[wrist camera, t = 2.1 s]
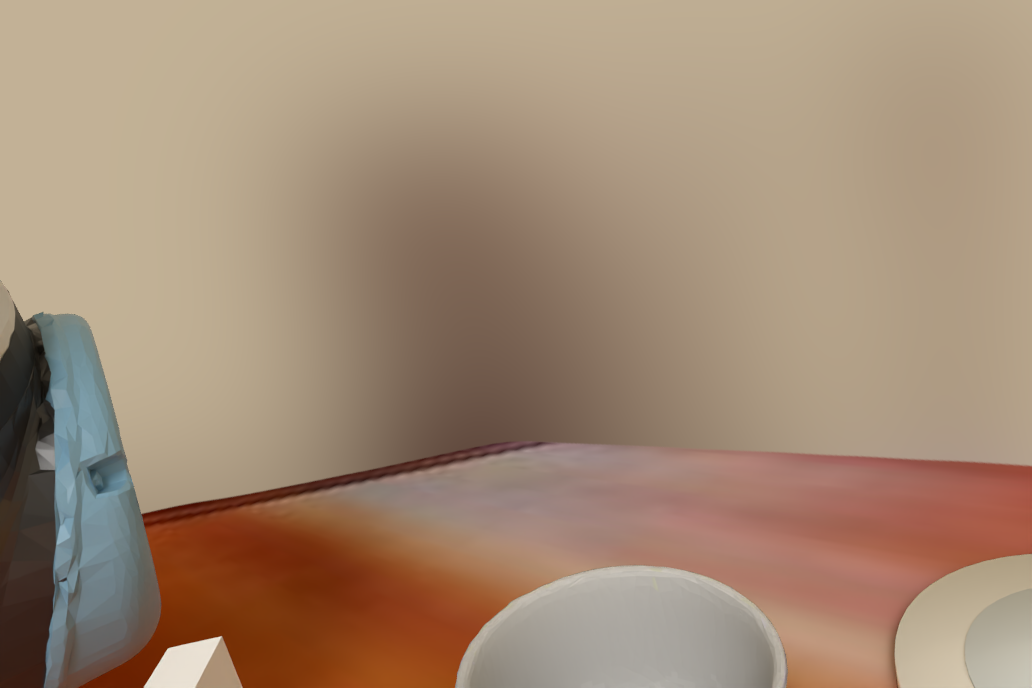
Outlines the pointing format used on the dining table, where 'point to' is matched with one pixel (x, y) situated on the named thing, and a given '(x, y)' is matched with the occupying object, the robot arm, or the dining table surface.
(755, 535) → the dining table surface
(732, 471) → the dining table surface
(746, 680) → the teacup
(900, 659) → the saucer
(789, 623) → the dining table surface
